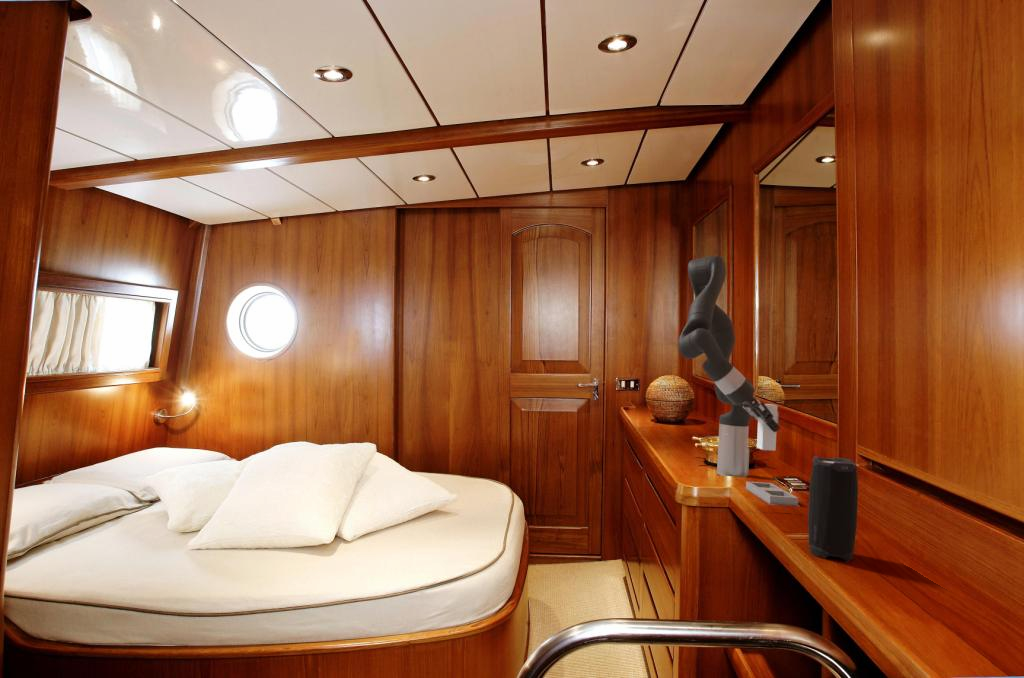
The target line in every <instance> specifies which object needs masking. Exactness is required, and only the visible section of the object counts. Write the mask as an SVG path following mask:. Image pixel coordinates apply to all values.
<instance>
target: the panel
mask: <svg viewBox="0 0 1024 678" xmlns="http://www.w3.org/2000/svg"><path fill="white" fill-rule="evenodd" d="M744 489H745V490H746V491H749V492H750V493H752V494H753V495H754V496H756V497H758V498H759V499H761V500H762V501H763V502H765V503H767V504H768V505H772V506H784V507H786V506H787V507H800V505H799V497H797V496H795V495H793V494H792V493H790V492H788V491H786V490H785V489H783V488H781V487H779V486H777V485H776V484H774V483H772V482H760V481H759V482H758V481H745V487H744Z"/></svg>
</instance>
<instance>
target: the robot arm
mask: <svg viewBox="0 0 1024 678" xmlns="http://www.w3.org/2000/svg"><path fill="white" fill-rule="evenodd" d="M687 273H688V278H689V282H690V285H691V287H692V292H693V294H694V297H695V298H694V299H693V301H692V303H691V305H690V307H689V310H688V316H687V321H686V324H685V325H684V327H683V330H682V331H681V333H680V335H679V338H678V342H677V349H678V352H679V354H680V356H682V357H683V358H685V359H687V360H692V359H693V360H694V359H696V358H698V357H699V356H701V355H703V354H704V356H706V359H705V361H703V363H702V366H701V368H702V371H704V372H705V374H706V375H707V376H708V377H709V378H710V379H711V380H712V381H713V384H714V391H715V395H716V397H717V399H718V400H719V401H720V402H721V403H724V404H729V405H731V408H730V411H728V412H727V413H723V414H720V416H719V425H718V445H717V462H716V463H717V466H716V474H717V475H718V474H719V475H718V476H722V477H723V476H724V477H734V478H735V477H738V478H747V476H748V477H749V465H750V464H749V462H750V448H749V430H750V429H749V427H750V420H751V418H752V419H755V420H756V421H758V418H761V419H762V420H763V422H764V423H766V424H767V425H768V426H769V427H770V429H771V430H772V431H773V432H776V433H777V432H778V431H779V430H781V426H780V425H779V423H778V424H777V423H776V422H775V421H774V420H773V419H772V418H773V417H774V416H773V415H772V414H771V412H770V411H769V410H768V408H767V407H766V406H765V404H766V403H764V402H761V401H760V400H759V399H758V398H756V397H754V394H755V392H756V391H755V387H754V386H753V384H752V382H751V380H749V379H748V378H746V377H745V376H744V375H743V374H742V373H741V372H740V371H739V370H738V369H737V368H736V367H735V366H733V364H732V363H731V362H730V357H731V356H732V353H733V349H734V348H735V347H734V346H735V342H736V334H735V330H734V326H733V323H732V319H731V318H730V316H729V315H728V314H727V313H726V312H725V311H724V310H723V309H722V308H721V307H720V305H717V300H718V299H719V296H720V294H721V290H722V288H723V285H724V283H725V279H726V277H727V266H726V262H725V259H723V257H722V256H720V255H718V254H716V255H709V256H705V257H700V258H696V259H692V260H690V261H689V262H688V264H687ZM758 412H759V414H758ZM766 415H767V417H765V416H766Z"/></svg>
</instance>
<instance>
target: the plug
mask: <svg viewBox="0 0 1024 678" xmlns="http://www.w3.org/2000/svg"><path fill="white" fill-rule="evenodd" d="M764 404H765V406H766V407H767V408H768V410H769V411H770V412H771V414H772V415H773V416H774V417H773V418H772V419H773V420H774V421H775V422H776V423H777V424H778V425H779V415H780V413H779V412H778V405H777V404H772V403H764ZM758 414H759V412H758ZM765 417H767V415H766V416H765ZM756 437H757V438H756V448H757V449H760V450H761V451H774V452H775V451H776V450H777V447H776V446H777V432H773V431H772V430H771V429H770V427H769V426H768V425H767V424H766V423H764V422H763V420H762V419H761V418H758V420H757V435H756Z"/></svg>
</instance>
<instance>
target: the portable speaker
mask: <svg viewBox="0 0 1024 678" xmlns="http://www.w3.org/2000/svg"><path fill="white" fill-rule="evenodd" d="M811 463H813V464H812V466H811V474H810V480H809V481H810V482H809V490H808V491H809V493H808V494H809V495H808V513H807V517H808V518H807V522H808V524H807V526H808V528H807V529H808V533H807V534H808V547H809V551H810V553H811V554H812V555H813V556H816V557H818V558H821V559H827V558H828V557H835V558H841V559H842V560H845V561H844V562H846V561H849V560H851V561H852V559H853V558H854V549H855V543H856V542H855V541H856V536H857V535H856V534H857V525H858V504H859V503H858V501H859V483H858V482H859V481H858V467H857V464H856V463H855V461H853V460H851V459H848V458H844V457H843V458H842V457H834V458H831V457H830V458H825V457H820V456H816V455H815V456H813V457H812V461H811ZM853 560H854V559H853ZM849 562H850V561H849Z"/></svg>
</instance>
